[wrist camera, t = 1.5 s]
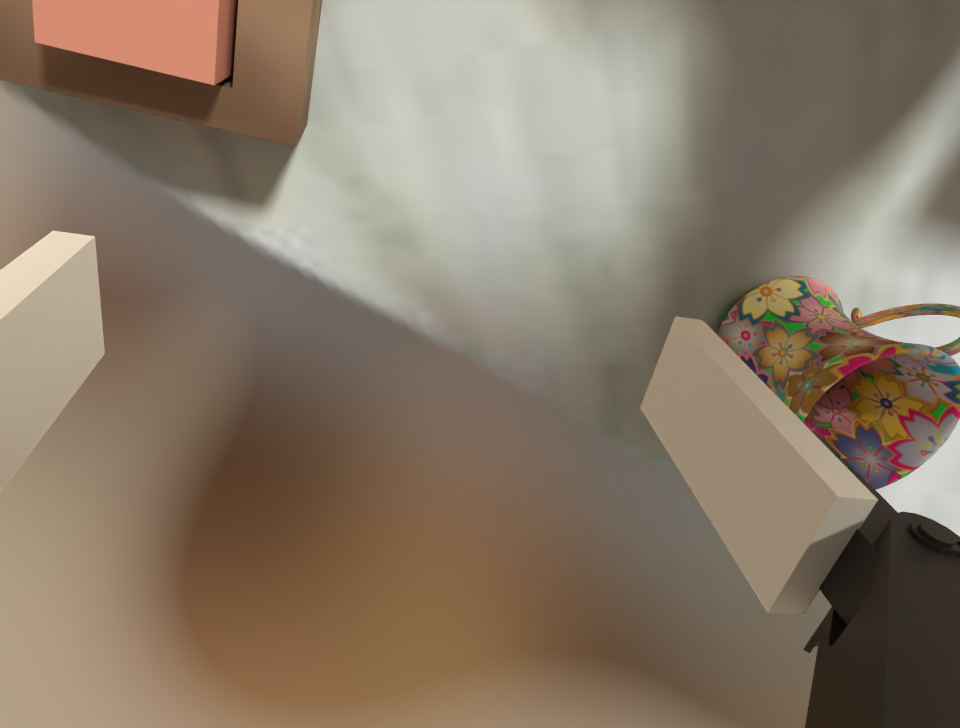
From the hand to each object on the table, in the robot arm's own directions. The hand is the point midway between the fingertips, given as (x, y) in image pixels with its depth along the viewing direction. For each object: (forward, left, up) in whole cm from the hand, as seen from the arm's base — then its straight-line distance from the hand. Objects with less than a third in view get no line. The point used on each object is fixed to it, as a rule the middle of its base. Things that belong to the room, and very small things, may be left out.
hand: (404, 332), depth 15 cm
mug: (+5, +27, -21) cm, 35 cm away
